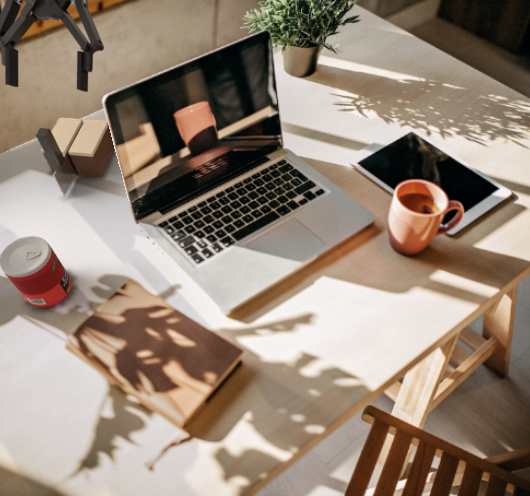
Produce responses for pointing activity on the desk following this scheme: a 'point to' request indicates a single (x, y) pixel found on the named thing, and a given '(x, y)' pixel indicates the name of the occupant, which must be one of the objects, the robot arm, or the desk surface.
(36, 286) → the canned food
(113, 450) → the desk surface
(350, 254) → the desk surface
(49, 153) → the slicer
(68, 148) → the cake
